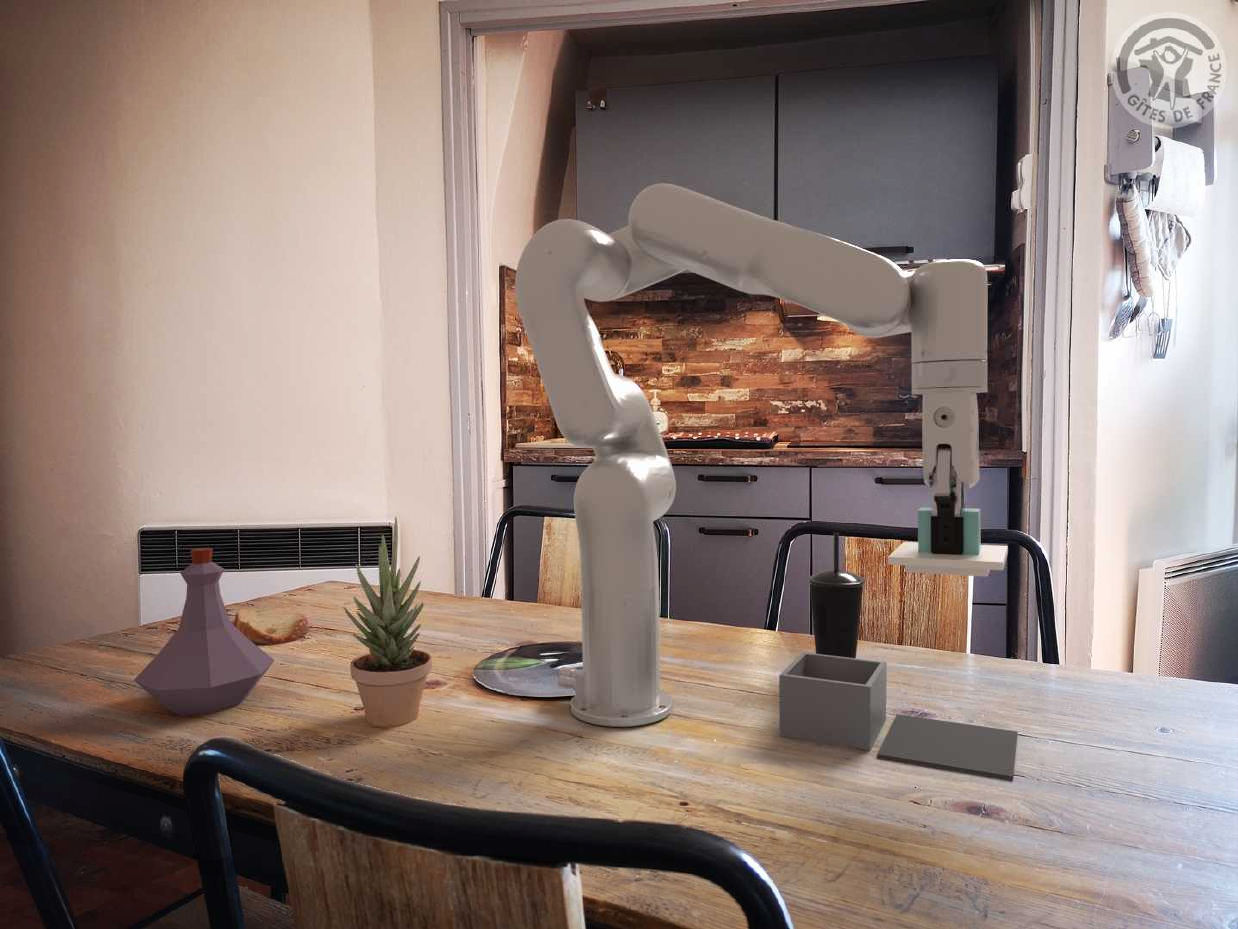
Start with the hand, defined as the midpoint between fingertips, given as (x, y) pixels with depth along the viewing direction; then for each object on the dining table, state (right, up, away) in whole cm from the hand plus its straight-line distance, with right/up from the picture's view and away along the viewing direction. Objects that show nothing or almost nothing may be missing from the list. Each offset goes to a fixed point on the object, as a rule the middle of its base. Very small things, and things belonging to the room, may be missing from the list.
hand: (948, 549), depth 91 cm
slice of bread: (-97, -20, +55) cm, 113 cm away
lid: (0, -2, 0) cm, 2 cm away
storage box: (-11, -21, +7) cm, 25 cm away
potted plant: (-63, -22, +12) cm, 68 cm away
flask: (-89, -22, +19) cm, 93 cm away
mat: (+1, -22, +1) cm, 22 cm away
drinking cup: (-6, -20, +26) cm, 33 cm away
